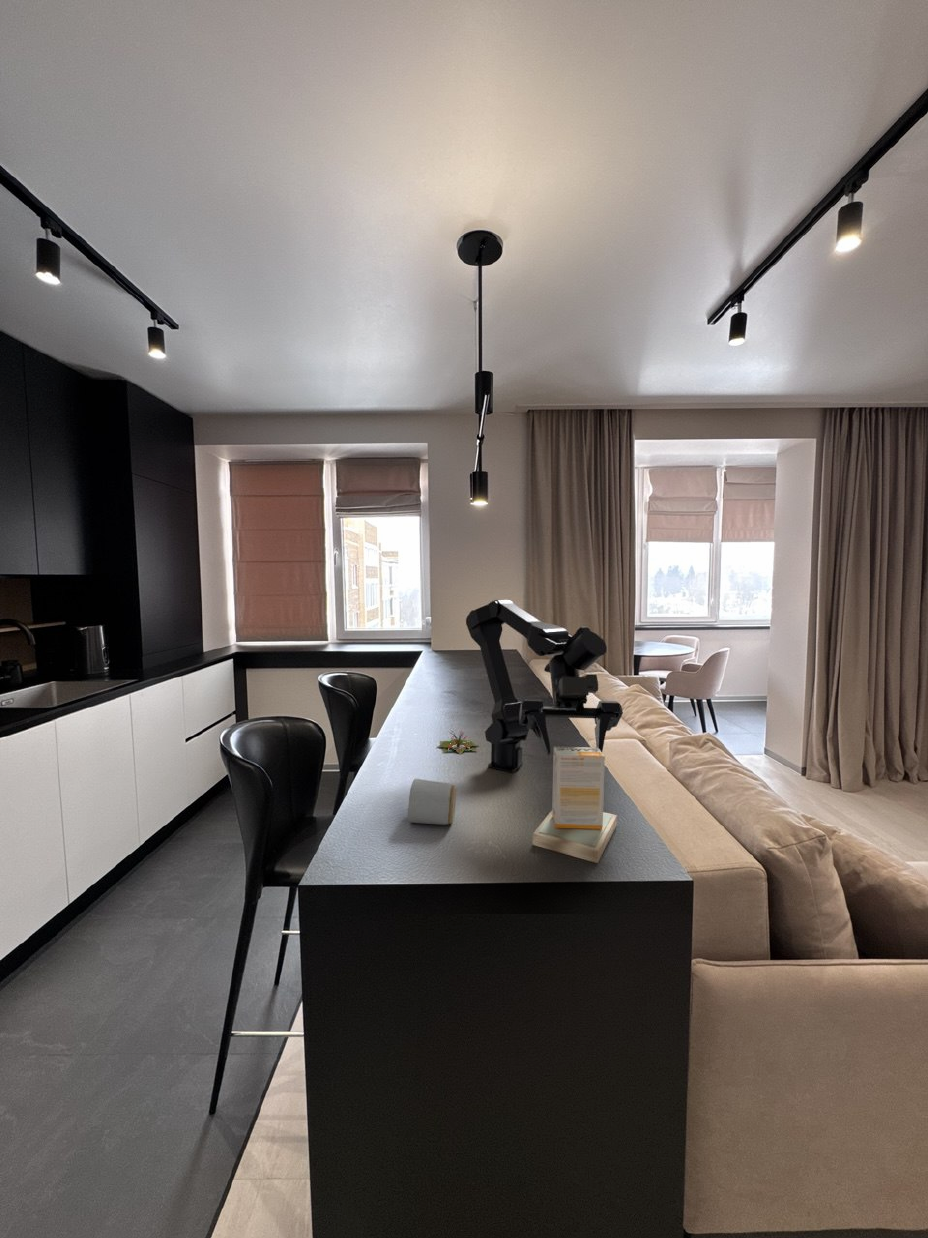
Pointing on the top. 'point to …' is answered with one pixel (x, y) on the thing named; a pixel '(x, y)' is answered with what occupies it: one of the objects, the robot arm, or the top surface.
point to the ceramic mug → (431, 802)
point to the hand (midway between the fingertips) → (574, 755)
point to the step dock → (575, 838)
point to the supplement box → (578, 787)
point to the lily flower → (458, 742)
